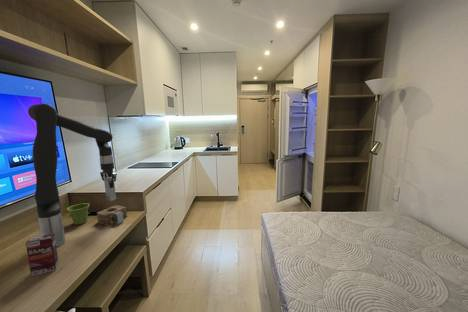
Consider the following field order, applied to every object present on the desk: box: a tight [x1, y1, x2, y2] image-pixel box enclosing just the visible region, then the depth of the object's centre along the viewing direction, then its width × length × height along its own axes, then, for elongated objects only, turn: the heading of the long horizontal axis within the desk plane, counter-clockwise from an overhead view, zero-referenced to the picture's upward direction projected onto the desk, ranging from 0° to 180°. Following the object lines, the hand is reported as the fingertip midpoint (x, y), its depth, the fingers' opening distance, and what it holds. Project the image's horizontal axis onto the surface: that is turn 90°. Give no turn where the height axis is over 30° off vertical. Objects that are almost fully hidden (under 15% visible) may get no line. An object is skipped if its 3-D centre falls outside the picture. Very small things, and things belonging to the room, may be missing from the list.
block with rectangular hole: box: [96, 204, 128, 226], centre depth 139 cm, size 14×10×7 cm
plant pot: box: [66, 202, 90, 226], centre depth 135 cm, size 12×12×11 cm
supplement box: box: [25, 233, 59, 277], centre depth 90 cm, size 9×5×16 cm, turn 118°
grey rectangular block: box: [112, 211, 124, 225], centre depth 134 cm, size 4×4×7 cm
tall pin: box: [103, 179, 117, 202], centre depth 134 cm, size 4×4×14 cm
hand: (109, 187), depth 134 cm, fingers closed on tall pin, 4 cm apart
